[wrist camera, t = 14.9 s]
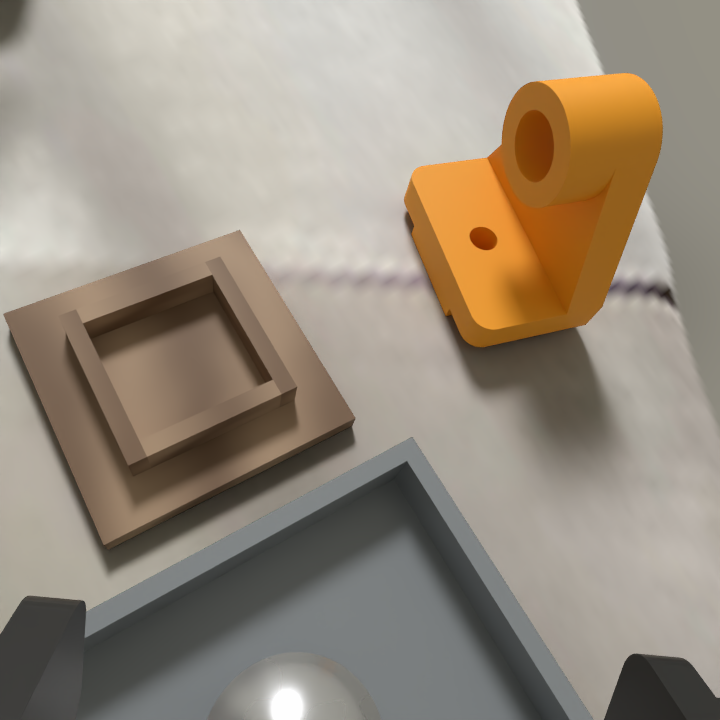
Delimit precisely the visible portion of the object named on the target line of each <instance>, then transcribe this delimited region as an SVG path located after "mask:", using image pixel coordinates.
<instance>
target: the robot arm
mask: <svg viewBox="0 0 720 720" xmlns="http://www.w3.org/2000/svg"><path fill="white" fill-rule="evenodd" d="M85 622H86V605H85V602H84V601H81V600H70V599H60V598H49V597H38V596H27V597H25V598H24V599H23V600H22V601H21V603H20V604H19V606H18V607H17V609H16V611H15V612H14V614H13V615H12V617H11V618H10V620H9V622H8V623H7V625H6V626H5V628H4V630H3V631H2V633H1V634H0V720H76V716H77V712H78V707H79V702H80V696H81V687H82V672H83V655H84V639H85ZM604 720H720V698H716V697H715V695H714V694H713V693H712V691H711V690H710V689H709V687H708V686H707V685H706V683H705V682H704V681H703V679H702V678H701V676H700V675H699V674H698V672H697V671H696V670H695V668H694V667H693V666H692V665H691V664H690V663H689V662H688V661H687V660H685V659H683V658H678V657H667V656H656V655H645V654H632V655H630V656H629V657H628V658H627V660H626V661H625V663H624V665H623V668H622V671H621V674H620V676H619V679H618V682H617V685H616V688H615V690H614V693H613V696H612V699H611V702H610V704H609V707H608V710H607V713H606V716H605V718H604Z"/></svg>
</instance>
